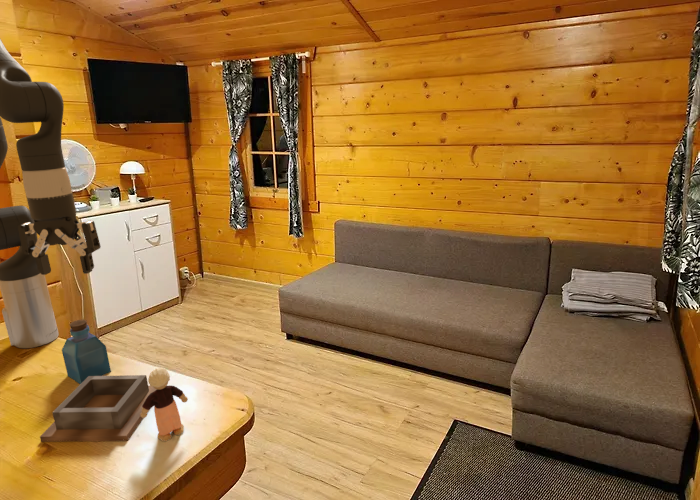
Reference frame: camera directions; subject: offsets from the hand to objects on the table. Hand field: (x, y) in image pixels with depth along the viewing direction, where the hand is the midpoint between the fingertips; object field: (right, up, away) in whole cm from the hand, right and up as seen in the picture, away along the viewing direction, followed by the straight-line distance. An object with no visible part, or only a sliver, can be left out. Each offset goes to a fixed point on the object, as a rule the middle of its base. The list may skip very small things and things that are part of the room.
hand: (67, 272), depth 96 cm
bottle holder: (+11, -26, -7) cm, 29 cm away
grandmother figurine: (+25, -27, -13) cm, 40 cm away
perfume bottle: (+1, -22, +7) cm, 23 cm away
